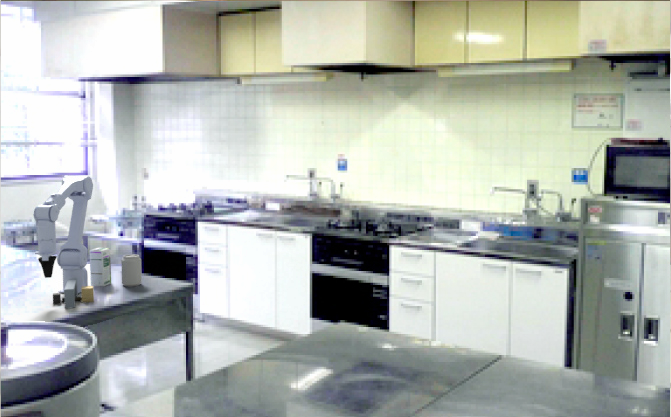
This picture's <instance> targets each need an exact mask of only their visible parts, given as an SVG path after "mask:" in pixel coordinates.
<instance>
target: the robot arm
mask: <svg viewBox="0 0 671 417" xmlns="http://www.w3.org/2000/svg"><path fill="white" fill-rule="evenodd" d="M93 189H94V183H93V179H92V178H91V176H89V175H87V176H83V175H82V176H81V175H80V176H79V175H78V176H77V175H75V176H74V175H64V177H63V178H62V180H61V186H60V188H59V189H58V191H57V192H56V193H55V192H54V193H51V194H50V196H49V197H48V198H47V199H46V200H45V201H44V202H43V203H42V204H39V205H38V206H36V207H35V208H34V210H33V219H34V222H35V226H36V227H37V245H38V251H37V250H36V251H34V255H39V256H40V257H38V259H37V260H38V262H39V263H40V265H41V268H42V272H43V277H44V278H45V279H47V278H48V279H49V278H52V277H53V272H54V265H55V262H56V263H57V265H58V266H59V268H60V269H61V270H62V289H61V290H59V291H58V292H57V293H60V294H64V289H65V286H66V284H67V281H68V279H77V294H80V293H81V288H82V286H89V280H88V277H89V276H88V269H86V266H87V265H88V262H89V255H88V252H89V249H88V248H87V247H86V246H85V245H84V244H83V243H82V242H83V241H82V240H83V234H84V228H85V221H86V215H87V209H88V203H89V202H88V201H90V200H91V199H92V197H93V196H92V195H93ZM67 198H68V199H70V200H71V201H72V202H73V205H72V208H71V209H72V210H71V217H70V222H69V229H68V236H67V241H66V242H65V243H64V244H62V245H60V246H59V252H58V251H57V238H56V237H57V236H56V233H57V230H56V221H58V218H59V214H60V212H61V210H62V209H63V207H64V206H65V205H66V199H67ZM56 254H57V255H56Z"/></svg>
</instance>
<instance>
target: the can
mask: <svg viewBox="0 0 671 417" xmlns="http://www.w3.org/2000/svg"><path fill="white" fill-rule="evenodd" d="M120 260H121V284H122V285H123V286H124V287H132V288H133V287H138V286H140V284H142V283H143V282H142V280H143V279H142V259H141V257H140V255H139V254H131V253H130V254H124V255H123V256H122V258H121V259H120Z"/></svg>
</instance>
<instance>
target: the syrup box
mask: <svg viewBox="0 0 671 417" xmlns="http://www.w3.org/2000/svg"><path fill="white" fill-rule="evenodd" d="M111 264H112V263H111V248H109V247H96V248H93V249H90V250H89V270H90V271H89V273H90V286H92V285H93V287H105V286H108V285H110V284H112V271H111V270H112V267H111V266H112V265H111Z"/></svg>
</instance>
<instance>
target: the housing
mask: <svg viewBox="0 0 671 417" xmlns="http://www.w3.org/2000/svg"><path fill="white" fill-rule="evenodd" d="M63 294H64V297H63V298H65V302H64V309H74V308H75V306H76V302H75V297H79V296H78V293H77V279H68V281H67V284H66V286H65V289H64V293H63Z"/></svg>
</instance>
